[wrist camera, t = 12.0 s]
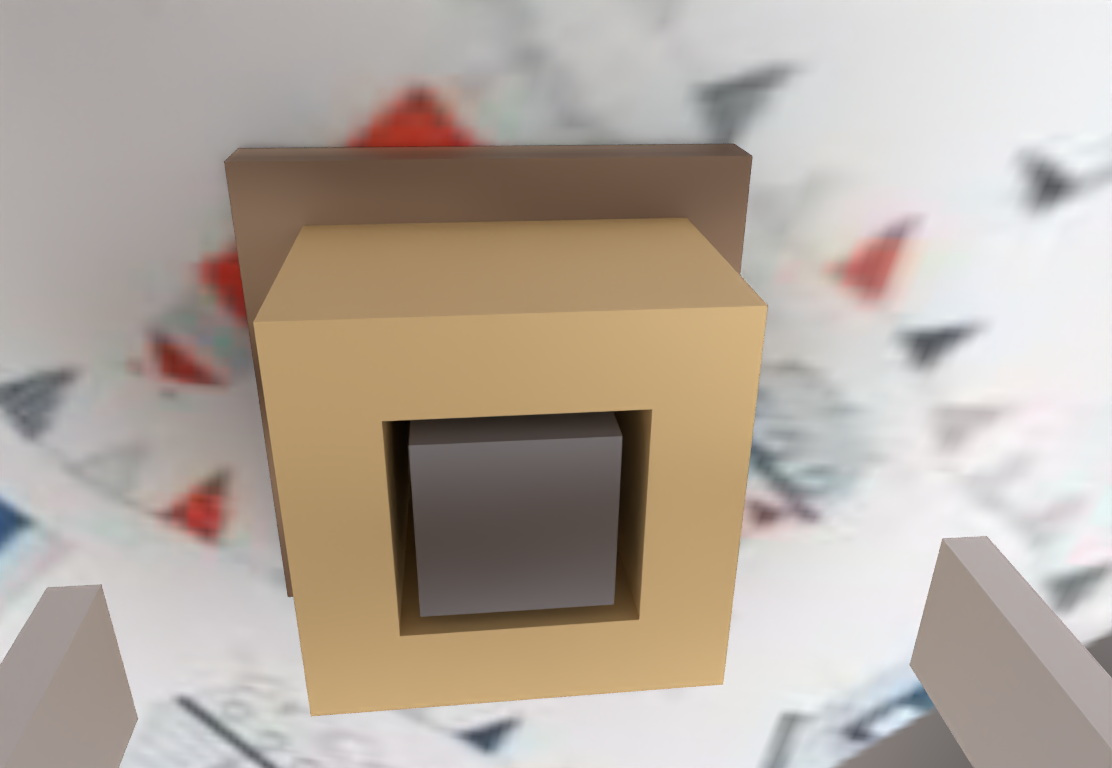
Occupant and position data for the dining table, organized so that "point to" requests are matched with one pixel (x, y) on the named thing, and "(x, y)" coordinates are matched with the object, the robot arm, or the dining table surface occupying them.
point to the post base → (469, 199)
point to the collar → (504, 390)
